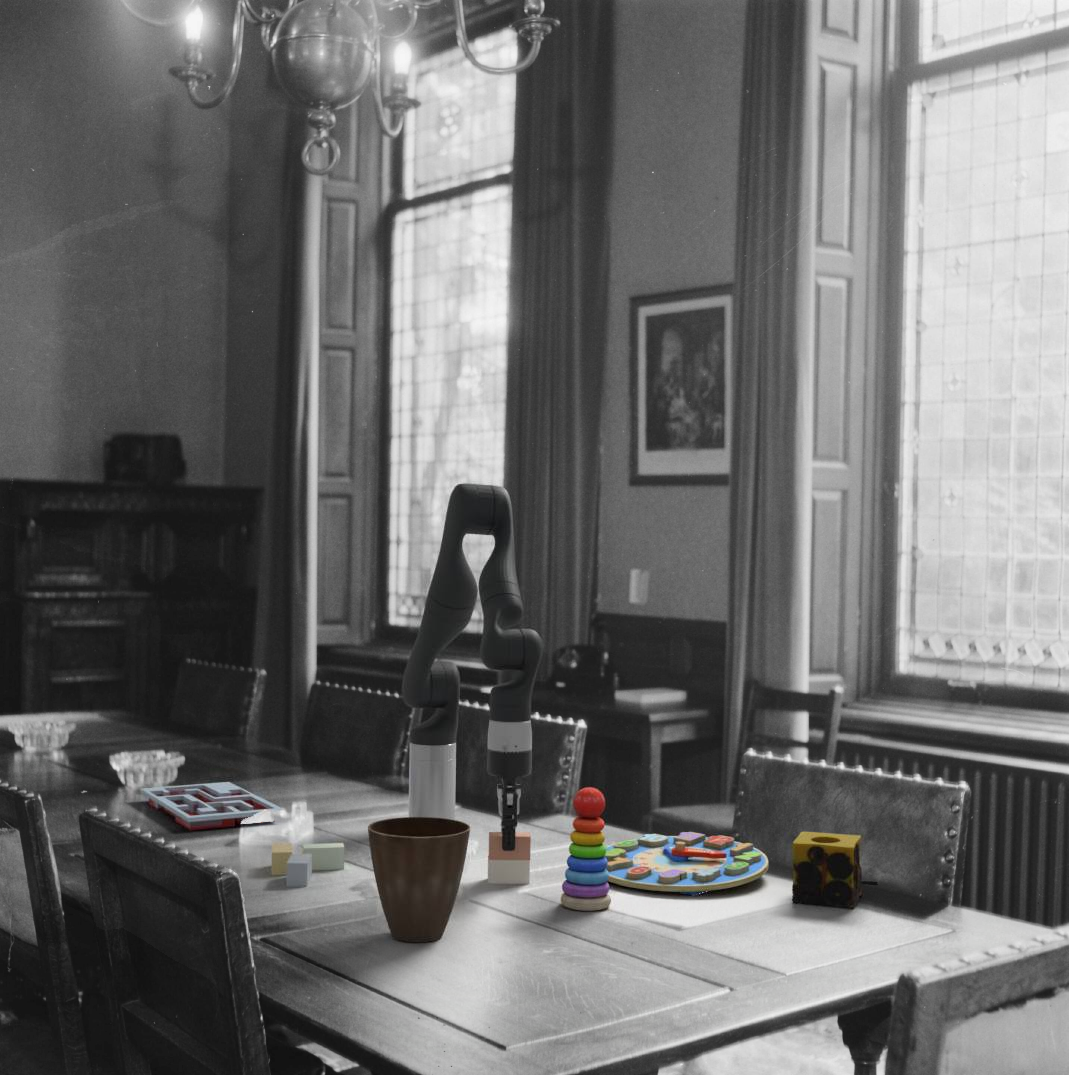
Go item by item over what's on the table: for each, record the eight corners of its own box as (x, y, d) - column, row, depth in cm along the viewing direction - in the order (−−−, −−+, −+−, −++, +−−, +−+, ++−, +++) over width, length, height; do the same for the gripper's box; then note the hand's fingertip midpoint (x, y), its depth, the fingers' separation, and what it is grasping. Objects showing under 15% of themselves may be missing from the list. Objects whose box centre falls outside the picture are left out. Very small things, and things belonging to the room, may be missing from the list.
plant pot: (374, 920, 214) (375, 815, 214) (472, 923, 214) (474, 817, 214) (358, 949, 199) (360, 835, 199) (464, 952, 199) (466, 838, 199)
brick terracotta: (488, 855, 242) (489, 832, 242) (529, 855, 242) (529, 832, 242) (488, 860, 238) (489, 836, 238) (530, 860, 239) (530, 836, 239)
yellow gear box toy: (862, 895, 235) (863, 835, 235) (855, 910, 225) (856, 847, 225) (800, 889, 238) (801, 830, 238) (790, 904, 228) (791, 842, 228)
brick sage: (302, 867, 249) (302, 844, 249) (342, 865, 250) (343, 843, 250) (303, 871, 245) (303, 848, 245) (344, 870, 247) (344, 847, 247)
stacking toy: (606, 914, 220) (608, 793, 220) (556, 910, 222) (558, 791, 222) (614, 901, 228) (616, 785, 228) (565, 898, 229) (567, 782, 229)
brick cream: (487, 879, 242) (488, 855, 242) (528, 879, 242) (529, 856, 242) (487, 884, 238) (488, 860, 238) (529, 884, 239) (529, 860, 239)
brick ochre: (271, 876, 242) (271, 852, 242) (271, 866, 248) (271, 843, 248) (291, 875, 242) (292, 852, 242) (291, 866, 249) (291, 843, 249)
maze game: (284, 825, 285) (284, 809, 285) (188, 834, 275) (188, 818, 275) (228, 796, 315) (228, 781, 315) (140, 803, 305) (140, 788, 305)
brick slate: (286, 887, 234) (286, 863, 234) (291, 877, 241) (291, 853, 241) (307, 887, 234) (307, 863, 234) (311, 877, 241) (312, 853, 241)
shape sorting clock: (554, 875, 246) (555, 841, 246) (662, 849, 268) (663, 817, 268) (698, 910, 225) (698, 872, 225) (802, 878, 247) (802, 843, 247)
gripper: (533, 753, 233) (532, 856, 233) (530, 740, 247) (528, 838, 247) (488, 752, 233) (486, 856, 233) (487, 740, 247) (485, 837, 247)
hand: (508, 846), depth 240 cm, fingers open, 5 cm apart
